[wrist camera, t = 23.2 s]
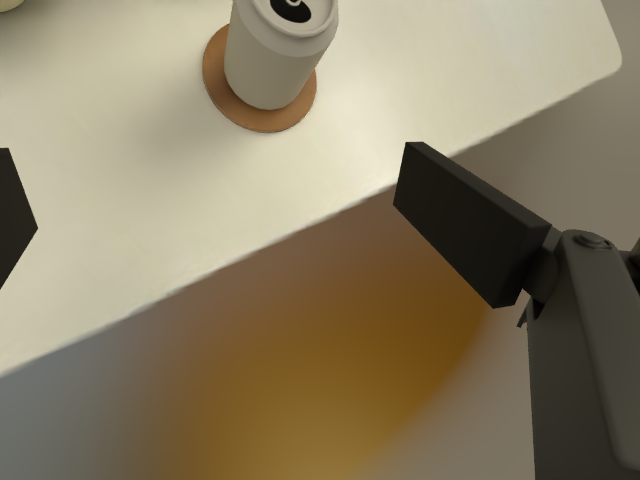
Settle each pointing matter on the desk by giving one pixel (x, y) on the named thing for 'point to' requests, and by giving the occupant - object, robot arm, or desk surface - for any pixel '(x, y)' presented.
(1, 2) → the pitcher
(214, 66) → the coaster
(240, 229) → the desk surface
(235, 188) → the desk surface
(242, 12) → the can
